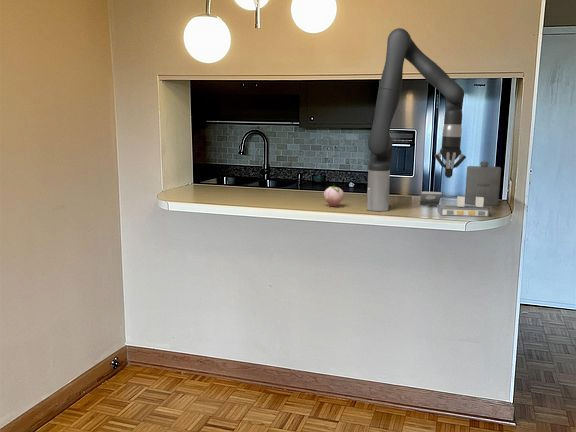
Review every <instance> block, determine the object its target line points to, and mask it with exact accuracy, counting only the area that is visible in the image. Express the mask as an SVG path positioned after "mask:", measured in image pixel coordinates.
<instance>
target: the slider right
mask: <svg viewBox="0 0 576 432" xmlns="http://www.w3.org/2000/svg"><path fill="white" fill-rule="evenodd" d="M483 202H484V197H483V196H476V203H475V205H474V206H476V207H483V206H484V205H483Z"/></svg>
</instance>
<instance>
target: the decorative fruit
mask: <svg viewBox="0 0 576 432" xmlns="http://www.w3.org/2000/svg"><path fill="white" fill-rule="evenodd" d="M323 197H324V201H326V203H327V204H328V205H330V206H331V207H332V208H334V207H335V206H338V205H340V204H341V203H342V202H343V200H344V198H345V193H344V191H343V189H341V188H340V187H339V186H338V187H337V186H335V185H333V186H328V187H327V188H326V189H325V190H324V192H323Z"/></svg>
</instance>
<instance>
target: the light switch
mask: <svg viewBox="0 0 576 432" xmlns="http://www.w3.org/2000/svg"><path fill="white" fill-rule="evenodd" d="M442 195H443V193H442V192H440V191H421V195H420V201H419V205H420V206H438V205H440V202H441V199H442Z"/></svg>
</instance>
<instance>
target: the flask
mask: <svg viewBox="0 0 576 432" xmlns="http://www.w3.org/2000/svg"><path fill="white" fill-rule="evenodd" d="M501 175H502V168H501V167H500V166H489V162H488V161H485V160H484V161H480V166H476V165H475V166H474V165H468V166H466V177H465V179H466V180H465V193H464V197H465V203H464V205H468V206H475V203H476V196H483V197H484V202H483V206H484V207H486V206H488V207H491V206H492V207H493V206H494V207H495V206H498V205H499V200H500V199H499V198H500V188H501V187H500V186H501Z"/></svg>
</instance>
